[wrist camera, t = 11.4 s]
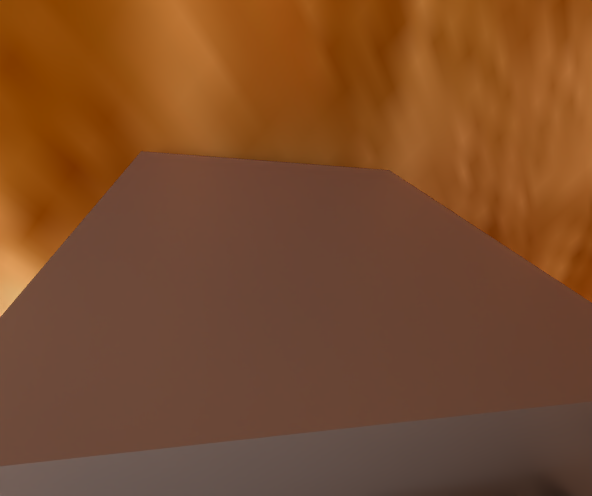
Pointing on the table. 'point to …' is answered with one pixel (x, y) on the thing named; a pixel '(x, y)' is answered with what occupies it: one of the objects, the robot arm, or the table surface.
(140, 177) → the grey block
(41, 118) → the table surface
